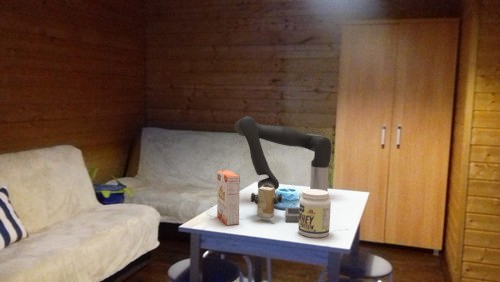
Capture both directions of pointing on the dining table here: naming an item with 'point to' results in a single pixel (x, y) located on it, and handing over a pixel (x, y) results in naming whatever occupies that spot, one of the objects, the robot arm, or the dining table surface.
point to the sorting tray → (292, 215)
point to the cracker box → (228, 197)
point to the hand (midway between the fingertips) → (265, 202)
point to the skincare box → (266, 201)
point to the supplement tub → (314, 213)
